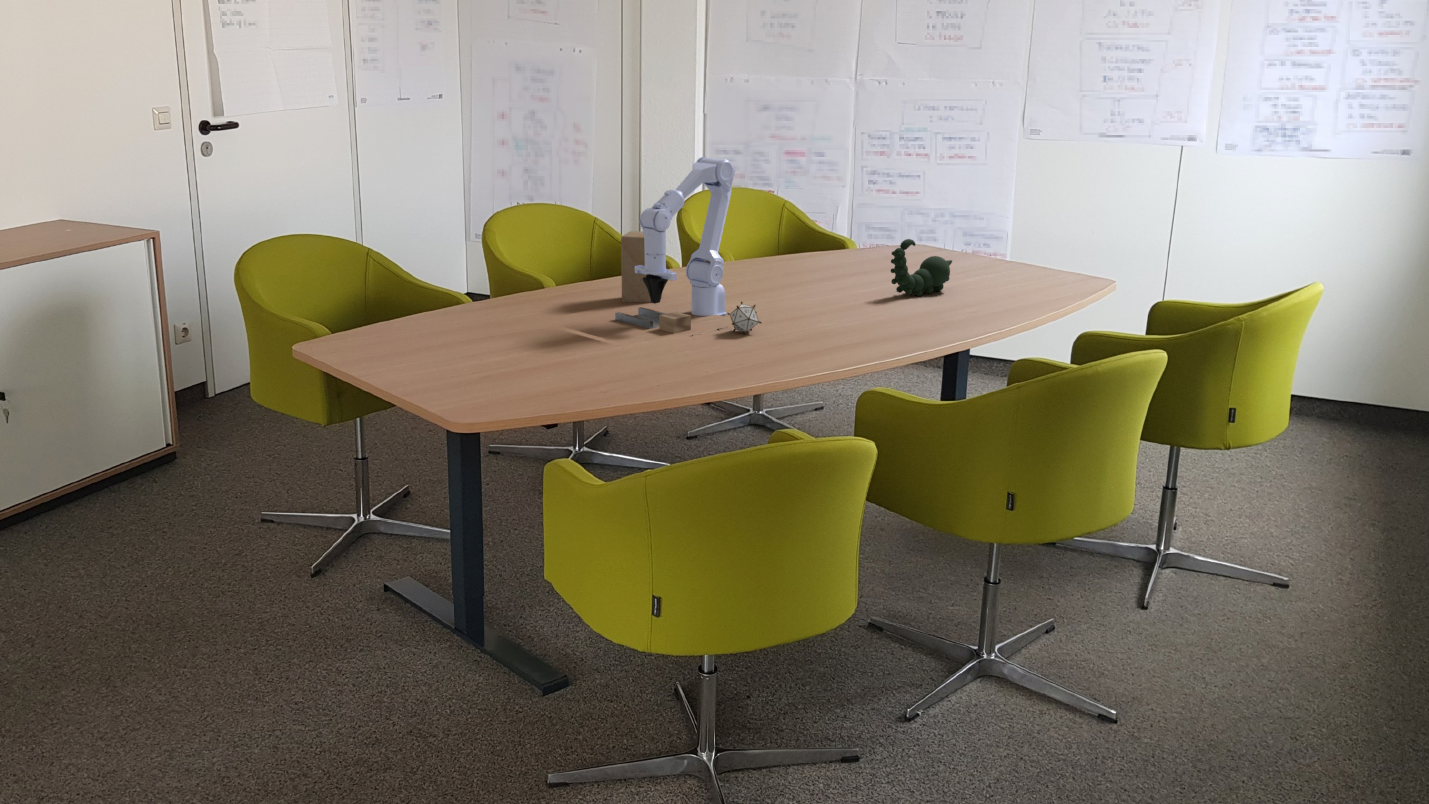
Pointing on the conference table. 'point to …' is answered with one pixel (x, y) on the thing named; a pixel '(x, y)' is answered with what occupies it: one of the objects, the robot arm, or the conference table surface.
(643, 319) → the chute
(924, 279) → the toy figurine
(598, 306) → the conference table surface
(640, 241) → the wooden block
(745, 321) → the game die
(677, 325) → the walnut block
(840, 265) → the conference table surface
